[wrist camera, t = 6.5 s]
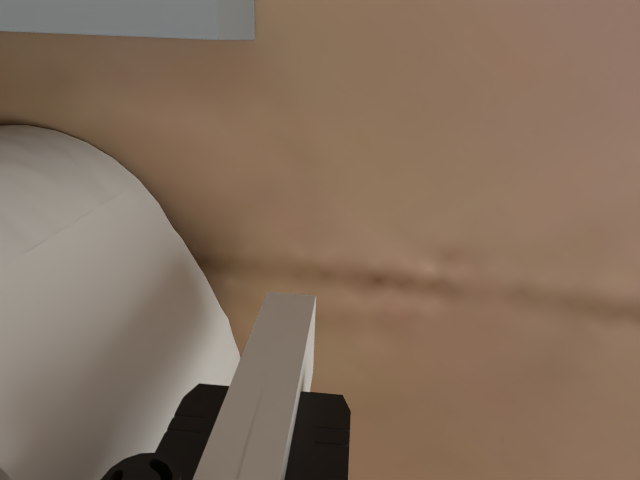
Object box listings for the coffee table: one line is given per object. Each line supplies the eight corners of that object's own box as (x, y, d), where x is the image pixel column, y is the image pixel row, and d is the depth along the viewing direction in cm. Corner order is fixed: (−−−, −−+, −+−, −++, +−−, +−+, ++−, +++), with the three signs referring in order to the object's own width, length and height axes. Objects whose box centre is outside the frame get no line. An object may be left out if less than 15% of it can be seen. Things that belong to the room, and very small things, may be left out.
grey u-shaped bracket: (-85, 427, 22) (-173, 504, 19) (-253, -22, 15) (-451, -42, 11) (261, 460, 21) (239, 548, 18) (254, -5, 14) (216, -20, 10)
